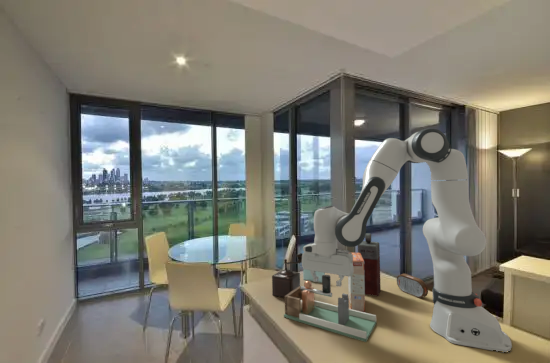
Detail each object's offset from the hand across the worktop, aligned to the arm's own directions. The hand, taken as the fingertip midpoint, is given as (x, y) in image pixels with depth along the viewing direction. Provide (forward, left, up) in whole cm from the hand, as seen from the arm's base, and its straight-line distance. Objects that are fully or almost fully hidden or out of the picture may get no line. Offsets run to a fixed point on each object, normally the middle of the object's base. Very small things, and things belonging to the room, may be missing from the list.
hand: (327, 283), depth 104 cm
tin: (-24, -42, -14) cm, 51 cm away
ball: (+12, 0, -11) cm, 16 cm away
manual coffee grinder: (+27, -16, -14) cm, 34 cm away
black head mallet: (+5, 0, -12) cm, 13 cm away
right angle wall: (+23, -41, -15) cm, 49 cm away
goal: (+12, 0, -13) cm, 18 cm away
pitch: (0, 0, -14) cm, 14 cm away
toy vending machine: (-5, -36, -14) cm, 39 cm away
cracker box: (-5, -19, -14) cm, 24 cm away
